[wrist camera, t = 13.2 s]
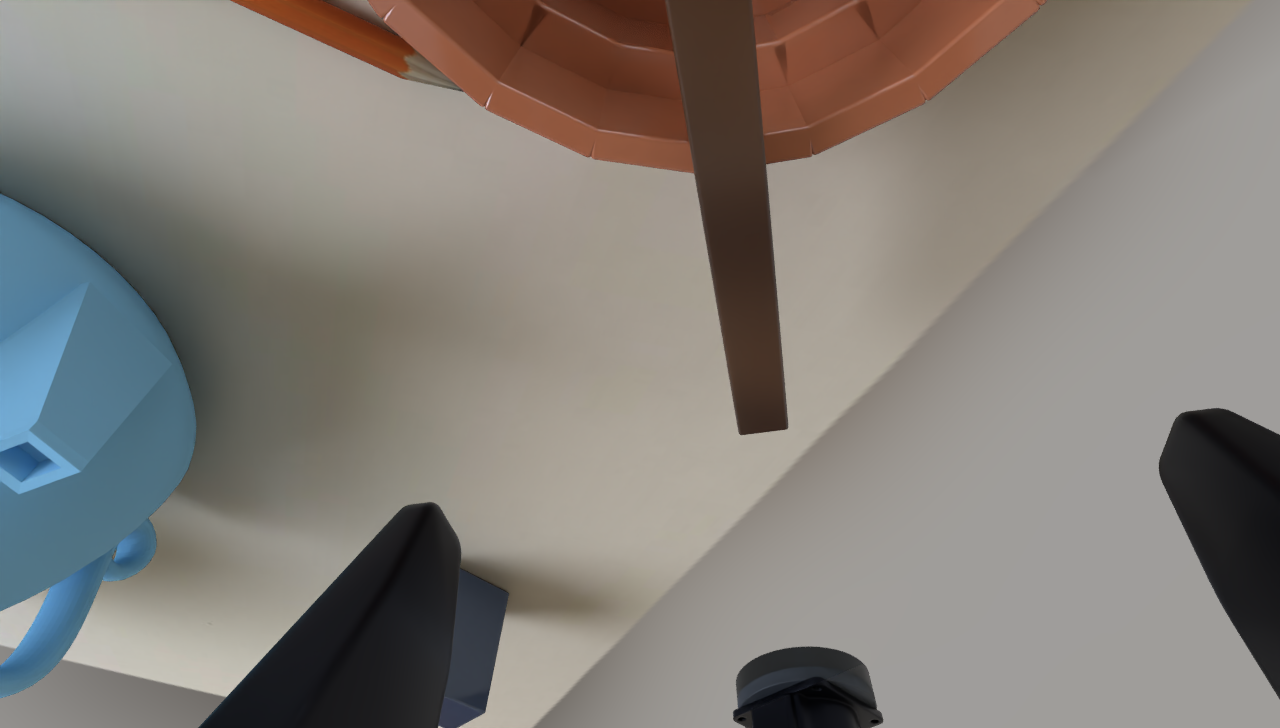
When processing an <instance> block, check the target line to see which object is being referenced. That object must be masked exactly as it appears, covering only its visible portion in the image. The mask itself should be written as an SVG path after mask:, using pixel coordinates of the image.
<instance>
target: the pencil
mask: <svg viewBox="0 0 1280 728" xmlns="http://www.w3.org/2000/svg"><path fill="white" fill-rule="evenodd" d="M231 1H233V2H235V3H237V4H239V5H242V6H244V7H246V8H248V9H250V10H253V11H255V12H257V13H259V14H261V15H263V16H266V17H268V18H270V19H272V20H274V21H277V22H279V23H281V24H283V25H285V26H288V27H290V28H292V29H294V30H296V31H299V32H301V33H303V34H305V35H307V36H310V37H312V38H314V39H316V40H318V41H321V42H323V43H325V44H327V45H329V46H332V47H334V48H336V49H338V50H340V51H342V52H345V53H347V54H349V55H351V56H353V57H356V58H358V59H360V60H362V61H364V62H367V63H369V64H371V65H373V66H375V67H378V68H380V69H382V70H384V71H386V72H389V73H391V74H393V75H395V76H397V77H400V78H402V79H407V80H411V81H416V82H421V83H425V84H430V85H434V86H439V87H444V88H448V89H453V90H458V91H462V92H464V91H463V90H462V89H460V88H459V87H458V86H457V85H456V84H455V83H453V82H452V81H451V80H450V79H449V78H448V77H447V76H445V75H444V74H443V73H442V72H441V71H440V70H438V69H437V68H436V67H435V66H434V65H433V64H432V63H430V62H429V61H428V60H427V59H426V58H425V57H423V56H422V55H421V54H420V53H419V52H418V51H417V50H415V49H414V48H413V47H412V46H411V45H410V44H408V43H407V42H406V41H405V40H404V39H403V38H401V37H399V36H397V35H395V34H393V33H390V32H388V31H386V30H384V29H382V28H380V27H378V26H376V25H373V24H371V23H369V22H367V21H365V20H363V19H361V18H359V17H356V16H354V15H352V14H350V13H348V12H346V11H344V10H342V9H339V8H337V7H335V6H333V5H331V4H329V3H327V2H325V1H322V0H231Z"/></svg>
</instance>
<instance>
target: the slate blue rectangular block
mask: <svg viewBox="0 0 1280 728" xmlns="http://www.w3.org/2000/svg"><path fill="white" fill-rule="evenodd" d="M508 596H509V593H507V592H505V591H503V590H501V589H499V588H497V587H496V586H494V585H492V584H490V583H488V582H486V581H484V580H482V579H480V578H478V577H476V576H474V575H472V574H470V573H468V572H466V571H465V570H463V569H461V568H460V573H459V584H458V594H457V605H456V616H455V626H454V637H453V647H452V655H451V663H450V669H449V675H448V680H447V686H446V691H445V696H444V700H443V705H442V710H441V715H440V720H439V725H438V726H441V727H443V728H458V727H460V726H462V725H463V724H465V723H467V722H469V721H471V720H473V719H475V718H476V717H478V716H480V715H482V714H484V713H485V711H486V706H487V701H488V696H489V691H490V686H491V681H492V676H493V671H494V666H495V661H496V656H497V651H498V646H499V641H500V636H501V631H502V626H503V621H504V616H505V611H506V606H507V601H508Z"/></svg>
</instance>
